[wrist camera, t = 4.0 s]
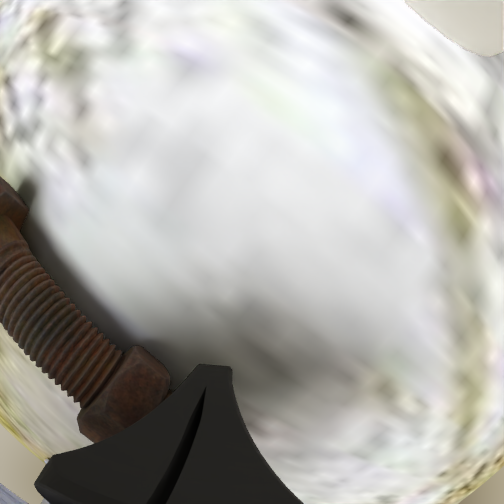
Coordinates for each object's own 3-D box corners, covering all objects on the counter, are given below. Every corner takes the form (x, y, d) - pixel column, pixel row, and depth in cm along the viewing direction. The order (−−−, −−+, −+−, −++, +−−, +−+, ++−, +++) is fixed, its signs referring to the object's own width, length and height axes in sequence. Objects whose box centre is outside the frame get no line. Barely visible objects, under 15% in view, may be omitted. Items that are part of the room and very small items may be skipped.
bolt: (204, 405, 14) (17, 219, 11) (263, 399, 11) (18, 154, 8) (157, 487, 9) (-54, 279, 7) (207, 516, 6) (-83, 224, 4)
